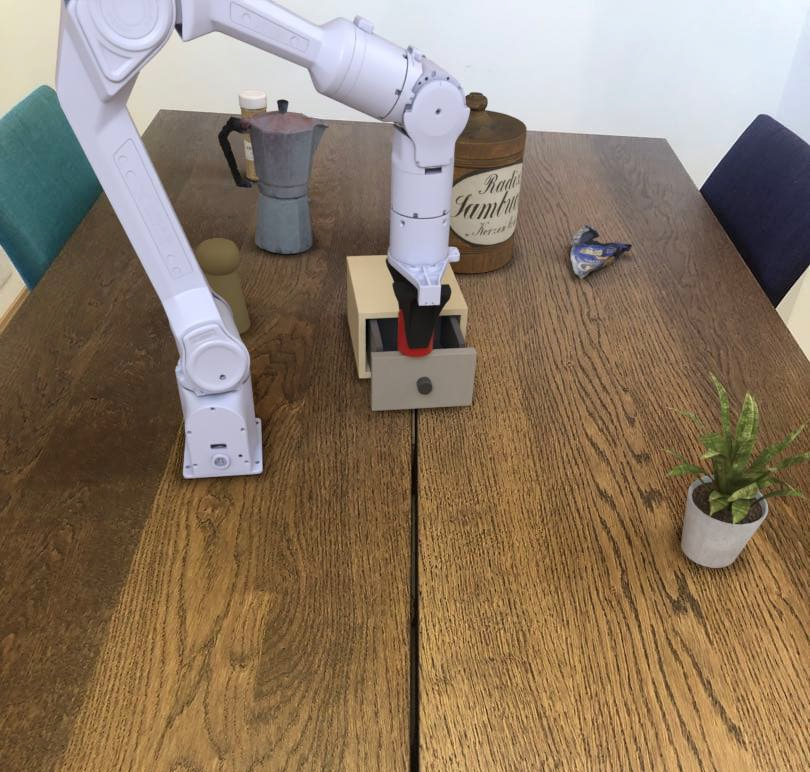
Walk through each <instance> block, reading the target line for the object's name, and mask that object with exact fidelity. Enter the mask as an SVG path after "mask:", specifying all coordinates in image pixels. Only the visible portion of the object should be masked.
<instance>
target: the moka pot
mask: <svg viewBox="0 0 810 772" xmlns="http://www.w3.org/2000/svg"><path fill="white" fill-rule="evenodd" d="M289 103H290V102H289V101H288V100H286V99H282V98H281V99H278V100H276V104H277V110H269V111H267V112H264V113H258V114H254V115H253V117H252V118H242V117H241V118H239V117H235V116H230V117H229V119H228V120H226V122H225V124H224V125H223V126H222V127H221V130H220V131H219V132H218V135H217V138H218V143H219V146H220V147H221V150H222V152H223V155H224V158H225V159H226V161H227V166H228V168H229V169H230V173H231V176H232V178H233V180H234V182H235V185H236V187H239V188H246V189H248V188H252V185H253V184H254V181H253V180H251V179H247V180H246V179H243V178H242V175H241V172H240V170H239V169H238V164H237V159H236V157H235V155H234V152H233V150H232V146H231V142H230V141H229V139H228V138H229V135H230V134H231V133H232V132H236V133H238V134H241V135H243V134H249V135H250V140H251V146H252V152H253V158H254V165H255V172H256V176H257V177H258V178H259V179H258V181H257V183H256V185H257V188H258V190H259V193H258V199H257V212H256V213H257V214H256V223H255V234H254V244H255V245H256V246H257V247H258V248H260V249H262V250H265V251H267V252H269V253H274V254H280V255H284V254H285V255H291V254H299V253H304V252H306V251H308V250H310V249H311V248H312V247H313V245H314V243H313V242H314V237H313V227H312V226H313V225H312V218H311V209H310V205H311V204H312V199H311V197H310V196H309V193H308V192H309V186H310V179H311V176H312V169H313V168H312V167H313V162H314V161H313V160H314V157H315V154H316V152H317V150H318V147H319V146H320V145H319V144H320V142H321V140H322V138H323V136H324V133H325V132H326V130H327V129H328V128H329V125H328V124H327V123H326V122H325V121H323V120H322V119H320V118H317V117H312V116H308V115H306V114H304V113H302V112H295V111H288V109H289Z"/></svg>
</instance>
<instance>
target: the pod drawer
mask: <svg viewBox="0 0 810 772" xmlns="http://www.w3.org/2000/svg"><path fill="white" fill-rule="evenodd" d="M397 341H398V317H397V318H373V319H366V353H367V358H368V362H369V367H370V372H371V378H370V408H371V412H378V411H379V412H380V411H395V410H396V411H398V410H413V409H414V410H415V409H431V408H432V409H433V408H448V407H450V408H451V407H466V406H467V407H468V406H472V405H473V396H474V395H473V394H474V386H475V375H476V367H477V366H476V365H477V358H478V352H477V350H476V347H466V346H467V343H466V339H465V340H464V337H463V334H462V332H461V329H460V327H459V324H458V321H457V319H456V316H455V315H444V316H439V317H438V319H437V322H436V325H435V328H434V337H433V350H432V352H431V353H430V354H428V355H426V356H423V357H409V356H406V355H403V354H402V353H400V352H399V350H398V348H397Z"/></svg>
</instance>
